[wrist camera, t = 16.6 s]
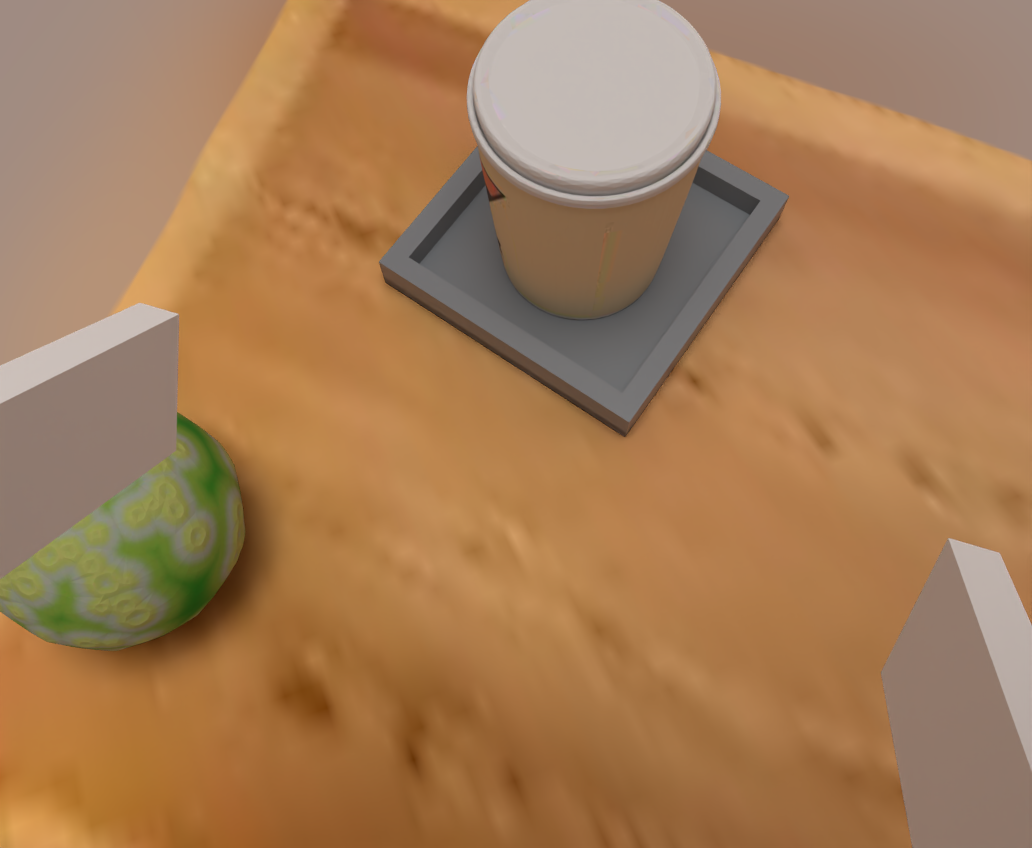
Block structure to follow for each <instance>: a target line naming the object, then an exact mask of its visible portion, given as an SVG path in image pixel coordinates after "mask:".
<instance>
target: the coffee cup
mask: <svg viewBox="0 0 1032 848" xmlns="http://www.w3.org/2000/svg"><path fill="white" fill-rule="evenodd" d="M720 107H721V89H720V82H719V77H718V74H717V70H716V68H715V65H714V63H713V60H712V58H711V55H710V53H709V50H708V48H707V46H706V45H705V43H704V41H703V39H702V38H701V37H700V35H699V34H698V32H697V31H696V30H695V29H694V27H692V25H691V24H690V23H689V22H688V21H687V20H686V19H685V18H683V17H682V16H681V15H680V14H679V13H677V12H676V11H675V10H674V9H672V8H671V7H669V6H668V5H666V4H664V3H662V2H660V1H658V0H530V1H528V2H526V3H525V4H523V5H522V6H520V7H518V8H517V9H515V10H514V11H513V12H511V13H510V14H509V15H508V16H507V17H505V18H504V19H503V20H502V21H501V22H500V23H499V24H498V25H497V27H496V28H495V29H494V30H493V31H492V33H491V34H490V35H489V37H488V38H487V40H486V42H485V43H484V45H483V47H482V48H481V50H480V52H479V54H478V56H477V58H476V59H475V62H474V64H473V67H472V69H471V73H470V77H469V81H468V89H467V110H468V117H469V121H470V125H471V128H472V132H473V135H474V137H475V140H476V142H477V145H478V150H479V156H480V161H481V166H482V171H483V175H484V180H485V185H486V190H487V194H488V199H489V204H490V208H491V213H492V217H493V222H494V226H495V231H496V235H497V240H498V244H499V249H500V252H501V256H502V260H503V263H504V267H505V270H506V272H507V274H508V276H509V279H510V281H511V282H512V284H513V285H514V287H515V288H516V289H517V291H518V292H519V293H520V294H521V295H522V296H523V297H524V298H525V299H526V300H527V301H528V302H530V303H531V304H533V305H534V306H536V307H537V308H539V309H540V310H543V311H545V312H547V313H549V314H552V315H555V316H558V317H562V318H567V319H574V320H588V319H597V318H601V317H606V316H609V315H612V314H614V313H617V312H619V311H621V310H623V309H625V308H626V307H628V306H629V305H631V304H632V303H633V302H634V301H636V300H637V299H638V298H639V297H640V296H641V295H642V294H643V293H644V292H645V290H646V289H647V288H648V286H649V285H650V283H651V282H652V280H653V278H654V276H655V274H656V272H657V269H658V267H659V265H660V263H661V261H662V258H663V256H664V253H665V251H666V248H667V246H668V243H669V241H670V238H671V236H672V233H673V231H674V228H675V226H676V223H677V221H678V218H679V216H680V213H681V210H682V208H683V205H684V203H685V200H686V198H687V195H688V193H689V190H690V188H691V185H692V182H693V180H694V177H695V174H696V172H697V169H698V166H699V164H700V161H701V158H702V157H703V155H704V153H705V152H706V150H707V148H708V146H709V144H710V142H711V140H712V138H713V135H714V133H715V130H716V127H717V124H718V120H719V114H720Z"/></svg>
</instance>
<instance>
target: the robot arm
mask: <svg viewBox="0 0 1032 848" xmlns="http://www.w3.org/2000/svg"><path fill="white" fill-rule="evenodd" d="M178 340H179V314H177V313H173V312H170V311H166V310H163V309H160V308H156V307H153V306H149V305H146V304H142V303H138V304H136V305H134V306H131V307H129V308H127V309H125V310H123V311H120V312H118V313H116V314H114V315H111V316H109V317H107V318H105V319H103V320H100V321H98V322H96V323H94V324H92V325H90V326H87V327H85V328H83V329H80V330H78V331H76V332H74V333H72V334H69V335H67V336H65V337H63V338H60V339H58V340H56V341H54V342H52V343H49V344H47V345H45V346H43V347H41V348H39V349H36V350H34V351H32V352H29V353H27V354H25V355H23V356H21V357H18V358H16V359H14V360H12V361H10V362H7V363H5V364H3V365H1V366H0V579H1V578H2V577H4V576H5V575H7V574H8V573H9V572H11V571H12V570H13V569H15V568H16V567H18V566H19V565H20V564H22V563H23V562H24V561H26V560H27V559H29V558H30V557H31V556H33V555H34V554H35V553H37V552H38V551H39V550H41V549H42V548H44V547H45V546H46V545H48V544H49V543H50V542H52V541H53V540H55V539H56V538H57V537H59V536H60V535H61V534H63V533H64V532H65V531H67V530H68V529H70V528H71V527H72V526H74V525H75V524H76V523H78V522H79V521H81V520H82V519H83V518H85V517H86V516H87V515H89V514H90V513H91V512H93V511H94V510H96V509H97V508H98V507H100V506H101V505H102V504H104V503H105V502H107V501H108V500H109V499H111V498H112V497H113V496H115V495H116V494H117V493H119V492H120V491H122V490H123V489H124V488H126V487H127V486H128V485H130V484H131V483H133V482H134V481H135V480H137V479H138V478H139V477H141V476H142V475H143V474H145V473H146V472H148V471H149V470H150V469H152V468H153V467H154V466H156V465H157V464H159V463H160V462H161V461H163V460H164V459H165V458H167V457H168V456H170V455H171V454H172V453H174V452H175V451H176V434H177V387H178ZM881 676H882V681H883V687H884V693H885V698H886V704H887V709H888V715H889V720H890V726H891V731H892V737H893V743H894V748H895V754H896V759H897V765H898V770H899V776H900V781H901V787H902V793H903V798H904V804H905V809H906V815H907V820H908V826H909V831H910V837H911V843H912V848H1032V625H1031V623H1030V620H1029V618H1028V616H1027V613H1026V611H1025V609H1024V607H1023V604H1022V602H1021V600H1020V598H1019V595H1018V593H1017V591H1016V589H1015V586H1014V584H1013V582H1012V580H1011V577H1010V575H1009V573H1008V571H1007V568H1006V566H1005V564H1004V562H1003V559H1002V557H1001V555H1000V553H998V552H995V551H991V550H988V549H985V548H981V547H978V546H974V545H971V544H967V543H964V542H961V541H957V540H954V539H950V538H948V540H947V542H946V544H945V546H944V548H943V550H942V552H941V554H940V555H939V557H938V559H937V561H936V563H935V565H934V567H933V569H932V571H931V573H930V575H929V577H928V579H927V581H926V583H925V585H924V587H923V589H922V591H921V593H920V595H919V597H918V599H917V601H916V603H915V605H914V607H913V609H912V611H911V613H910V615H909V617H908V619H907V621H906V623H905V625H904V627H903V629H902V631H901V633H900V635H899V637H898V639H897V641H896V643H895V645H894V647H893V649H892V651H891V653H890V655H889V657H888V659H887V661H886V663H885V665H884V667H883V669H882V671H881Z"/></svg>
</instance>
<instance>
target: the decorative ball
mask: <svg viewBox="0 0 1032 848" xmlns="http://www.w3.org/2000/svg"><path fill="white" fill-rule="evenodd" d="M244 538H245V524H244V513H243V505H242V499H241V493H240V488H239V484H238V479H237V475H236V470H235V466H234V464H233V462H232V460H231V458H230V457H229V455H228V454H227V452H226V451H225V449H224V448H223V446H222V445H221V444H220V443H219V442H218V441H217V440H216V439H215V438H213V437H212V436H211V435H209V434H208V433H207V432H206V431H204V430H203V429H202V428H200V427H199V426H198V425H196V424H195V423H193V422H191V421H190V420H188V419H187V418H185V417H184V416H182V415H181V414H179V413H178V412H177V434H176V451H175V452H174V453H172V454H171V455H170V456H168V457H167V458H165V459H164V460H163V461H161V462H160V463H159V464H157V465H156V466H154V467H153V468H152V469H150V470H149V471H148V472H146V473H145V474H143V475H142V476H141V477H139V478H138V479H137V480H135V481H134V482H133V483H131V484H130V485H128V486H127V487H126V488H124V489H123V490H122V491H120V492H119V493H117V494H116V495H115V496H113V497H112V498H111V499H109V500H108V501H107V502H105V503H104V504H102V505H101V506H100V507H98V508H97V509H96V510H94V511H93V512H91V513H90V514H89V515H87V516H86V517H85V518H83V519H82V520H81V521H79V522H78V523H76V524H75V525H74V526H72V527H71V528H70V529H68V530H67V531H65V532H64V533H63V534H61V535H60V536H59V537H57V538H56V539H55V540H53V541H52V542H50V543H49V544H48V545H46V546H45V547H44V548H42V549H41V550H39V551H38V552H37V553H35V554H34V555H33V556H31V557H30V558H29V559H27V560H26V561H24V562H23V563H22V564H20V565H19V566H18V567H16V568H15V569H13V570H12V571H11V572H9V573H8V574H7V575H5V576H4V577H2V578H1V579H0V612H2V613H3V614H5V615H6V616H7V617H9V618H10V619H11V620H13V621H14V622H16V623H17V624H19V625H20V626H22V627H23V628H25V629H26V630H28V631H29V632H31V633H33V634H34V635H36V636H38V637H39V638H41V639H43V640H45V641H47V642H50V643H55V644H61V645H66V646H71V647H78V648H85V649H94V650H106V651H118V650H121V649H125V648H128V647H131V646H134V645H138V644H141V643H144V642H147V641H150V640H152V639H155V638H158V637H161V636H163V635H165V634H167V633H169V632H171V631H172V630H174V629H176V628H178V627H179V626H181V625H183V624H184V623H186V622H188V621H189V620H191V619H192V618H194V617H196V616H197V615H198V614H199V613H200V612H201V611H202V610H203V608H204V607H205V606H206V605H207V604H208V603H209V602H210V600H211V599H212V598H213V597H214V595H215V594H216V593H217V591H218V590H219V588H220V587H221V586H222V584H223V583H224V582H225V580H226V579H227V577H228V575H229V574H230V572H231V570H232V569H233V567H234V566H235V564H236V562H237V560H238V557H239V555H240V551H241V549H242V547H243V543H244Z"/></svg>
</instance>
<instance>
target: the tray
mask: <svg viewBox="0 0 1032 848" xmlns="http://www.w3.org/2000/svg"><path fill="white" fill-rule="evenodd" d="M788 198H789V196H788V195H786V194H785V193H783V192H781V191H779V190H777V189H776V188H774V187H772V186H770V185H768V184H767V183H765V182H763V181H761V180H759V179H758V178H756V177H754V176H752V175H750V174H748V173H747V172H745V171H743V170H741V169H739V168H738V167H736V166H734V165H732V164H730V163H729V162H727V161H725V160H723V159H721V158H719V157H718V156H716V155H714V154H712V153H710V152H709V151H707V150H706V152H705V153H704V155H703V157H702V158H701V161H700V164H699V166H698V169H697V172H696V174H695V177H694V180H693V182H692V185H691V188H690V190H689V193H688V195H687V198H686V200H685V203H684V205H683V208H682V210H681V213H680V216H679V218H678V221H677V223H676V226H675V228H674V231H673V233H672V236H671V238H670V241H669V243H668V246H667V248H666V251H665V253H664V256H663V258H662V261H661V263H660V265H659V267H658V269H657V272H656V274H655V276H654V278H653V280H652V282H651V283H650V285H649V286H648V288H647V289H646V290H645V292H644V293H643V294H642V295H641V296H640V297H639V298H638V299H637V300H636V301H634V302H633V303H632V304H631V305H629V306H628V307H626V308H625V309H623V310H621V311H619V312H617V313H614V314H612V315H609V316H606V317H601V318H597V319H588V320H574V319H567V318H562V317H558V316H555V315H552V314H549V313H547V312H545V311H543V310H540V309H539V308H537V307H536V306H534V305H533V304H531V303H530V302H528V301H527V300H526V299H525V298H524V297H523V296H522V295H521V294H520V293H519V292H518V291H517V289H516V288H515V287H514V285H513V284H512V282H511V281H510V279H509V276H508V274H507V272H506V270H505V267H504V263H503V260H502V256H501V252H500V249H499V244H498V240H497V235H496V231H495V226H494V222H493V217H492V213H491V208H490V204H489V199H488V194H487V190H486V185H485V180H484V175H483V171H482V166H481V161H480V156H479V150H478V146H477V147H476V148H475V150H474V151H473V152H472V153H471V154H470V156H469V157H468V158H467V159H466V160H465V161H464V163H463V164H462V165H461V166H460V167H459V168H458V170H457V171H456V172H455V173H454V174H453V175H452V177H451V178H450V179H449V180H448V181H447V183H446V184H445V185H444V186H443V187H442V188H441V190H440V191H439V192H438V193H437V194H436V195H435V197H434V198H433V199H432V200H431V201H430V202H429V204H428V205H427V206H426V207H425V208H424V210H423V211H422V212H421V213H420V214H419V215H418V217H417V218H416V219H415V220H414V221H413V222H412V224H411V225H410V226H409V227H408V228H407V229H406V231H405V232H404V233H403V234H402V235H401V237H400V238H399V239H398V240H397V241H396V242H395V244H394V245H393V246H392V247H391V248H390V249H389V251H388V252H387V253H386V254H385V255H384V256H383V258H382V259H381V260H380V261H379V264H380V267H381V270H382V273H383V276H384V279H385V282H386V283H387V284H389V285H390V286H392V287H393V288H395V289H397V290H398V291H400V292H401V293H403V294H404V295H406V296H407V297H409V298H410V299H412V300H414V301H415V302H417V303H418V304H420V305H421V306H423V307H424V308H426V309H428V310H429V311H431V312H432V313H434V314H435V315H437V316H438V317H440V318H441V319H443V320H445V321H446V322H448V323H449V324H451V325H452V326H454V327H455V328H457V329H458V330H460V331H462V332H463V333H465V334H466V335H468V336H469V337H471V338H472V339H474V340H476V341H477V342H479V343H480V344H482V345H483V346H485V347H486V348H488V349H489V350H491V351H493V352H494V353H496V354H497V355H499V356H500V357H502V358H503V359H505V360H506V361H508V362H510V363H511V364H513V365H514V366H516V367H517V368H519V369H520V370H522V371H524V372H525V373H527V374H528V375H530V376H531V377H533V378H534V379H536V380H537V381H539V382H541V383H542V384H544V385H545V386H547V387H548V388H550V389H551V390H553V391H554V392H556V393H558V394H559V395H561V396H562V397H564V398H565V399H567V400H568V401H570V402H572V403H573V404H575V405H576V406H578V407H579V408H581V409H582V410H584V411H585V412H587V413H589V414H590V415H592V416H593V417H595V418H596V419H598V420H599V421H601V422H602V423H604V424H606V425H607V426H609V427H610V428H612V429H613V430H615V431H616V432H618V433H619V434H621V435H623V436H624V437H625V436H626V435H627V434H628V432H629V431H630V429H631V428H632V427H633V425H634V424H635V422H636V421H637V419H638V418H639V417H640V415H641V414H642V412H643V411H644V410H645V408H646V407H647V405H648V404H649V402H650V401H651V400H652V398H653V397H654V395H655V394H656V393H657V391H658V390H659V388H660V387H661V385H662V384H663V383H664V381H665V380H666V378H667V377H668V375H669V374H670V373H671V371H672V370H673V368H674V367H675V366H676V364H677V363H678V361H679V360H680V358H681V357H682V356H683V354H684V353H685V351H686V350H687V349H688V347H689V346H690V344H691V343H692V341H693V340H694V339H695V337H696V336H697V334H698V333H699V331H700V330H701V329H702V327H703V326H704V324H705V323H706V322H707V320H708V319H709V317H710V316H711V314H712V313H713V312H714V310H715V309H716V307H717V306H718V305H719V303H720V302H721V300H722V299H723V297H724V296H725V295H726V293H727V292H728V290H729V289H730V287H731V286H732V285H733V283H734V282H735V280H736V279H737V278H738V276H739V275H740V273H741V272H742V270H743V269H744V268H745V266H746V265H747V263H748V262H749V261H750V259H751V258H752V256H753V255H754V253H755V252H756V251H757V249H758V248H759V246H760V245H761V243H762V242H763V241H764V239H765V238H766V236H767V235H768V234H769V232H770V231H771V229H772V228H773V226H774V225H775V224H776V222H777V221H778V219H779V217H780V215H781V213H782V211H783V209H784V207H785V204H786V202H787V200H788Z"/></svg>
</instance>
